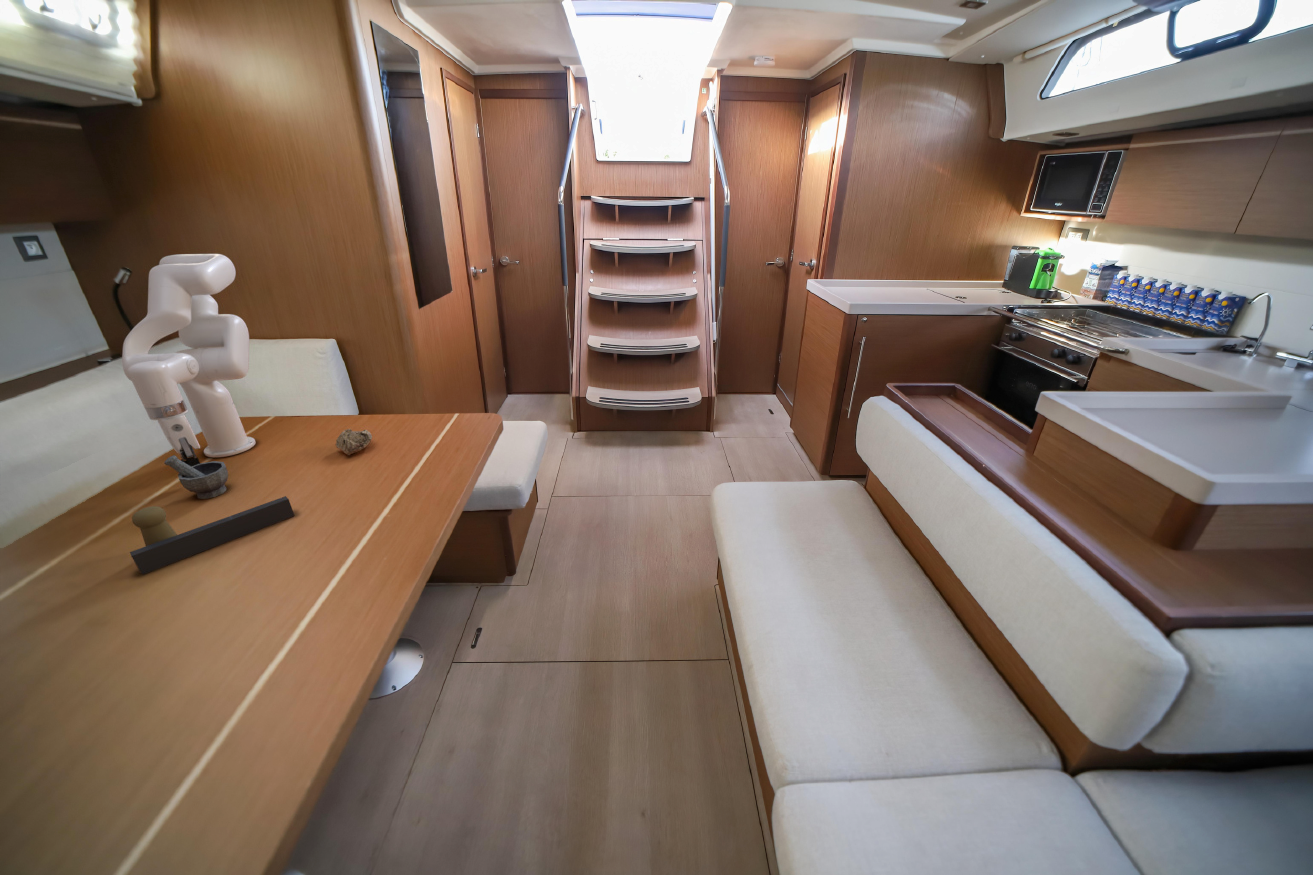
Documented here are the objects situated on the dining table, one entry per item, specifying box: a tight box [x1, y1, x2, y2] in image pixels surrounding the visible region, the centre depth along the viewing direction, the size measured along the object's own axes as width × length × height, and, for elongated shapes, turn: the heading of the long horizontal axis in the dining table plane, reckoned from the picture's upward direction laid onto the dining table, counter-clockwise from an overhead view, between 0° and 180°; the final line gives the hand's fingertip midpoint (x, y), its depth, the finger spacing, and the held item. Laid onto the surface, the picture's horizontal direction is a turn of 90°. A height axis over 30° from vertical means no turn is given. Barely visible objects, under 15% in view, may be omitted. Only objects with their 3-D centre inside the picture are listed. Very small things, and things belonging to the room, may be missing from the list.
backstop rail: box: [129, 495, 295, 576], centre depth 113 cm, size 2×28×5 cm, turn 140°
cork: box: [131, 505, 178, 547], centre depth 109 cm, size 6×6×11 cm
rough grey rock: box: [335, 428, 373, 456], centre depth 155 cm, size 11×7×10 cm
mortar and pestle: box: [163, 455, 229, 500], centre depth 130 cm, size 11×9×12 cm
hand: (195, 470), depth 137 cm, fingers closed
